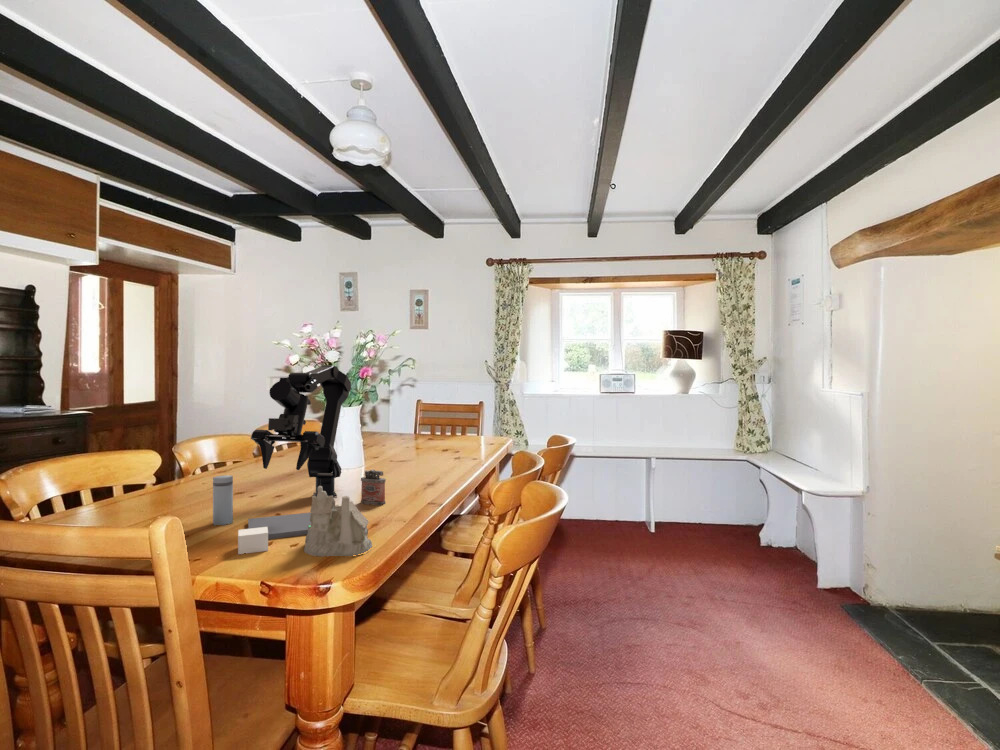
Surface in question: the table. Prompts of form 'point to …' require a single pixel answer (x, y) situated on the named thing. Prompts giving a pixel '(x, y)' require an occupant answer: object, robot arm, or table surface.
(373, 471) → the lighter
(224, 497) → the grey cylinder
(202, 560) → the table surface
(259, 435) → the robot arm
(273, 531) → the charging mat
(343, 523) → the stone castle ruin
